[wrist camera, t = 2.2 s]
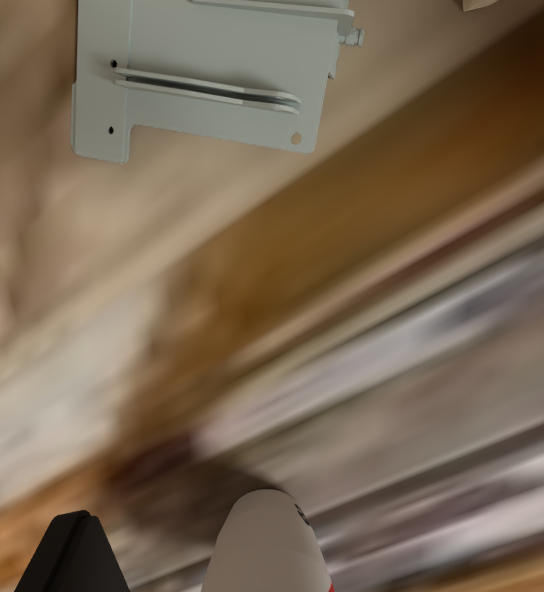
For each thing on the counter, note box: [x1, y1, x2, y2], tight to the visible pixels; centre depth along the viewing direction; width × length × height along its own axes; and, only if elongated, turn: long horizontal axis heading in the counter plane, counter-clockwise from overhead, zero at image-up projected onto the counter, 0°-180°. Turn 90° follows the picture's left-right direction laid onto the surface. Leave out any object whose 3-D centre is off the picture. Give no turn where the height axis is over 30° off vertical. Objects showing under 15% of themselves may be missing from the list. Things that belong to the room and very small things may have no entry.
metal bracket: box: [70, 0, 364, 163], centre depth 21 cm, size 14×6×15 cm
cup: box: [201, 489, 334, 592], centre depth 27 cm, size 8×8×10 cm
